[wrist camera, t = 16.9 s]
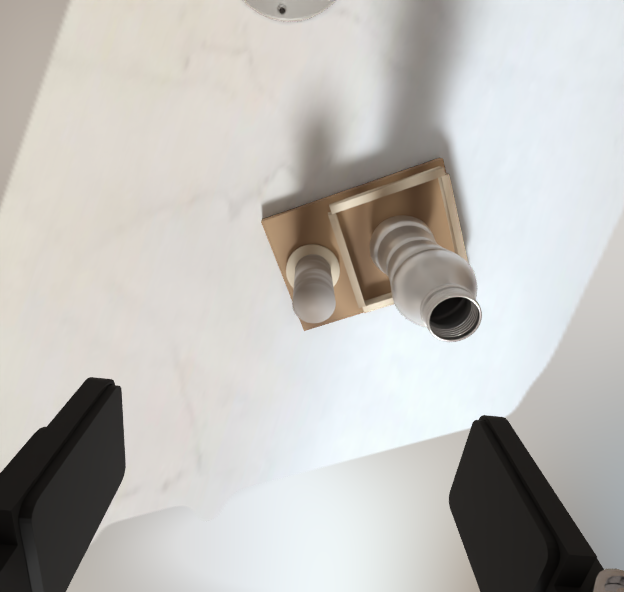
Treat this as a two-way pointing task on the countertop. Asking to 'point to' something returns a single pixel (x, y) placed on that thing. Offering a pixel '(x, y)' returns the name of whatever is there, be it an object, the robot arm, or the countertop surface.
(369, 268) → the board
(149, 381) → the countertop surface
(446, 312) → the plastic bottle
